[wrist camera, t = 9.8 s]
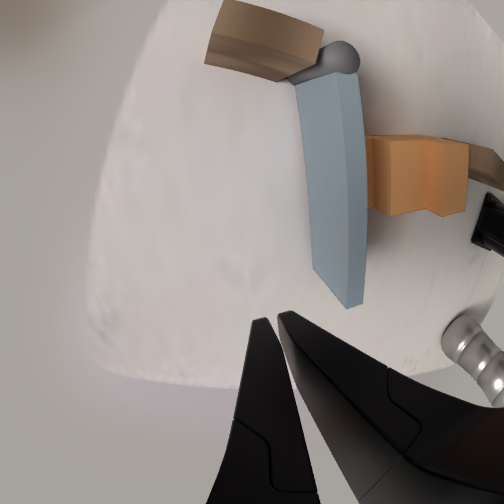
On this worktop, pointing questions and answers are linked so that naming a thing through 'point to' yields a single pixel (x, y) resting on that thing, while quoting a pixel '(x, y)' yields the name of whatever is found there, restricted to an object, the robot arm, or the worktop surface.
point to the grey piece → (335, 168)
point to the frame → (297, 61)
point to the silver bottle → (476, 356)
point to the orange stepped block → (416, 174)
